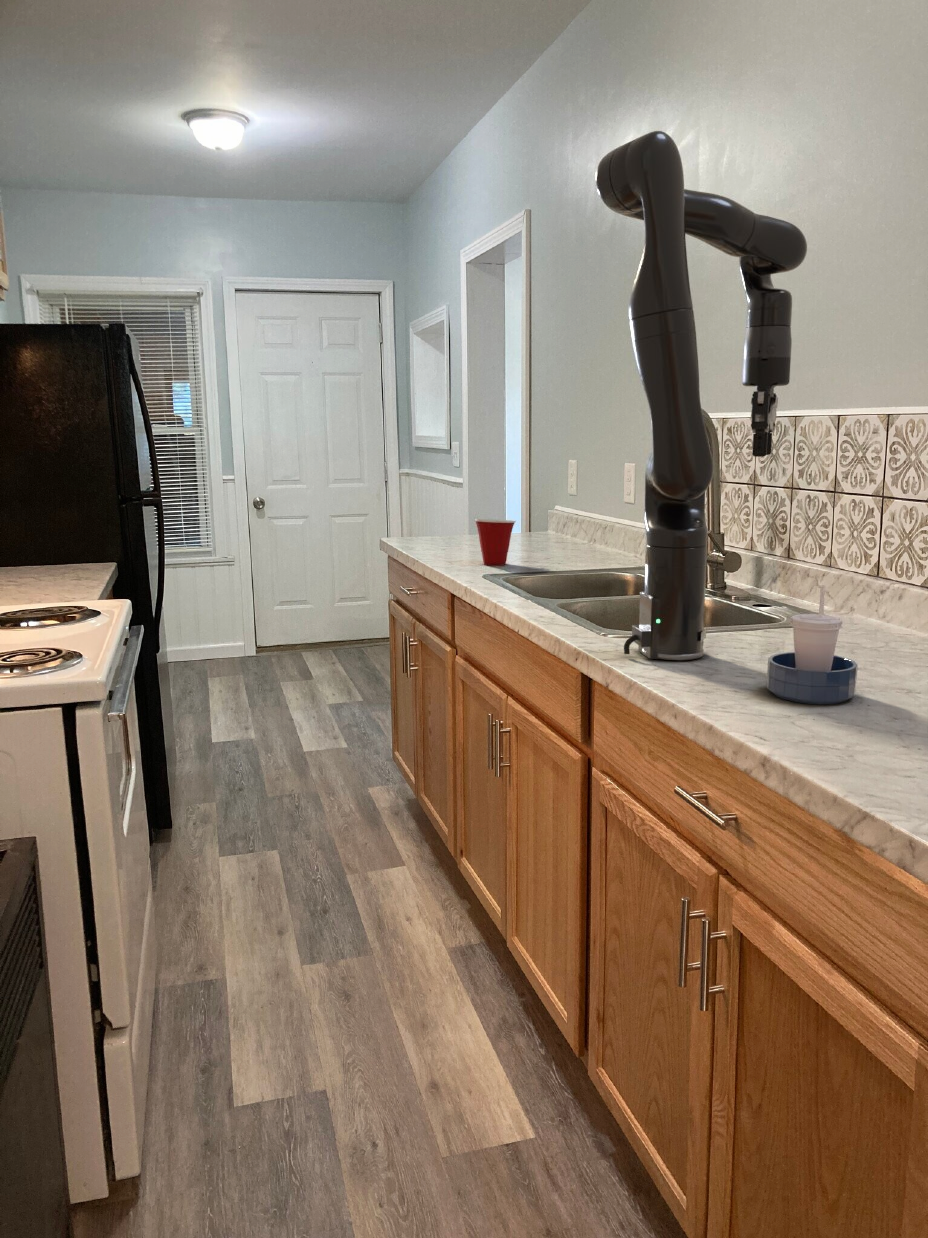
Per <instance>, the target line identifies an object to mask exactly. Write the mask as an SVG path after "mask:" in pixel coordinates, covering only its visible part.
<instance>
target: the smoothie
mask: <svg viewBox="0 0 928 1238" xmlns="http://www.w3.org/2000/svg"><path fill="white" fill-rule="evenodd" d="M819 592H820V593H819V607H818V608H819V609H818V613H801V614H795V615H792V616H791V617H790V623H789V624H790V626H791V627H792V632H793V633H792V635H793V636H792V637H793V649H794V652H795V665H796V669H802V670H811V671H831V667H832V662H833V657H834V655H835V652H836V647H837V642H838V637H839V632H840V629H842V628H843V619H841V618H840V617H838V616H834V615H829V614H824V611H825V596H826V585H824V584H822V585H820V591H819Z"/></svg>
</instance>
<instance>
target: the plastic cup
mask: <svg viewBox="0 0 928 1238" xmlns="http://www.w3.org/2000/svg"><path fill="white" fill-rule="evenodd" d="M474 522H475V524H476V528H477V534H478V538H479V545H480V552H481V555H482V562H483V565H485V566H492V567H493V566H505V565H506V563H507V561H508V560H507V558H508V553H509V549H510V543H511V536H512V532H513V528H514V526H515V523H516V522H517V521H516V520H512V519H511V520H510V519H496V518H495V519H494V518H492V519H491V518H475V519H474Z"/></svg>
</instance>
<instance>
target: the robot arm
mask: <svg viewBox="0 0 928 1238" xmlns="http://www.w3.org/2000/svg"><path fill="white" fill-rule="evenodd" d="M684 176H685V175H684V166H683V162H682V158H681V153H680V150H679V147H678V146H677V143H676V142H675V140H674V139H673V137H671V136H670V135H669V134H668V133H666V132H665V131H663V130H653V131H651V132H648V133H645V134H643V135H641V136H639V137H636V138H634V139H633V140H631V141H629V142H626V143H624V144H622V145H619V146H618V147H616V148H614V149H612V150H611V151H609V152H608V153H606V154H605V155H604V156H603V157H602V158H601V160H600V161H599V163H598V165H597V167H596V172H595V187H596V190H597V193H598V195H599V197H600V199H601V202H603V203H604V205H605V207H607V208H608V209H609V210H611V211H612V212H614V213H616V214H618V215H621V216H625V217H628V218H632V219H636V220H640V221H643V224H644V243H643V249H642V254H641V259H640V262H639V265H638V268H637V271H636V275H635V277H634V281H633V285H632V288H631V292H630V296H629V300H628V306H627V307H628V309H627V310H628V313H627V314H628V322H629V331H630V336H631V337H630V338H631V344H632V350H633V355H634V360H635V364H636V368H637V371H638V375H639V378H640V382H641V384H642V387H643V391H644V394H645V396H646V400H647V404H648V407H649V413H650V422H651V424H650V425H651V439H652V451H651V452H650V453H649V455H648V458H647V460H646V464H645V473H644V475H645V476H644V527H645V551H644V552H645V553H644V555H645V557H644V587H643V588H644V589H643V590H644V591H640V592H639V608H638V609H639V610H638V611H639V612H638V613H639V614H638V624H632V625H631V636H630V637H628V638H627V639H626V640H625V642H624V644H623V654H624V655H630V654H631V653H630V652H631V651H630V646H631V645H632V644H633V643H635V644H636V645H638V647H637V648H638V652H640V653H641V654H642V655H644V656H645V657H646V658H648V659H650V660H664V661H689V660H696V659H699V658H702V657H703V656H704V640H705V639H706V638H707V628H705V605H706V586H707V585H706V580H707V561H708V558H707V557H708V537H709V536H708V534H709V531H708V525H707V520H706V491H707V490H708V488H709V487H710V485H711V483H712V480H713V478H714V472H715V465H714V464H715V463H714V459H713V454H712V451H711V446H710V442H709V439H708V435H707V430H706V425H705V419H704V415H703V411H702V409H703V408H702V403H701V394H700V391H701V390H700V367H699V352H698V341H697V327H696V321H695V311H694V305H693V297H692V293H691V292H692V291H691V283H690V276H689V275H690V274H689V266H688V265H689V264H688V253H687V240H686V239H687V238H686V235H687V236H690V237H692V238H695V239H697V240H699V241H701V242H703V243H705V244H707V245H709V246H710V247H712V248H715V249H716V250H718V251H720V252H722V253H724V254H726V255H728V256H731V257H735V258H738V265H739V270H740V274H741V279H742V283H743V289H744V293H745V297H746V303H747V309H746V327H745V328H746V329H745V336H744V340H743V355H742V357H743V358H742V375H741V376H742V379H741V383H742V386H744V387H755V388H756V389H755V390H754V391H753V393H752V397H751V401H750V407H751V411H750V421H751V422H750V427H751V432H752V456H753V457H754V458H755V457H756V458H762V457H766V456H769V455H771V454H772V447H773V446H772V445H773V433H774V431H775V427H776V422H777V408H778V405H779V397H777V396H778V395H777V394H776V392H775V388H776V387H784V386H787V385H790V379H791V361H792V346H793V345H792V342H793V340H792V339H793V338H792V315H793V295H792V293H791V291H789V290H787V289H784V288H778V287H774V283H773V281H772V275H776V274H781V273H787V272H791V271H793V270H795V269H797V268H799V267H800V266H801V265H802V263H804V260H805V259H806V256H807V253H808V242H807V239H806V237H805V234H804V233H803V232H802V230H801V229H800V228H799V227H798V226H796V225H795V224H794V223H791V222H789V221H787V220H784V219H780V218H776V217H773V216H768V215H765V214H764V215H763V214H758V213H756V212H753V211H752V210H751V209H749V208H747V207H746V206H744V205H742V204H741V203H739V202H738V201H735V200H733V199H731V198H729V197H727V196H724V195H720V194H716V193H712V192H706V191H698V190H691V189H688V188H687V189H686V188H685V177H684Z"/></svg>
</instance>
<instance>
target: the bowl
mask: <svg viewBox="0 0 928 1238" xmlns="http://www.w3.org/2000/svg"><path fill="white" fill-rule="evenodd" d="M766 671H767V672H766V688H767V690H768V691H769V692H771V693H772V694H773V695H774V696H776V697H777V698H780V699H782V700H787V701H789V702H793V703H794V702H795V703H800V704H808V705H834V704H841V703H844V702H846V701H847V700H849V699H851V698H854V697H855V695H856V692H857V678H858V663H857V662H856V661H855V660H853V659H850V658H847V657H844V656H841V655H840V656H839V655H835V654H834V657H833V662H832V667H831V671H811V670H802V669H796V665H795V651H790V652H789V651H787V652H781V653H776V654H772V655H770V656H769V657H768V658H767V670H766Z"/></svg>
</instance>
